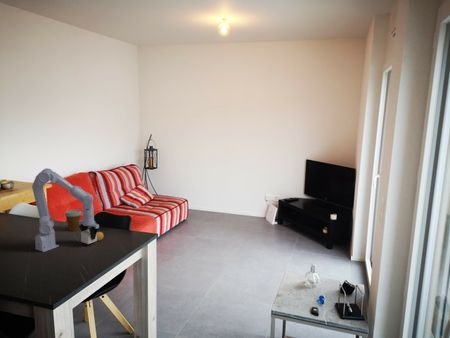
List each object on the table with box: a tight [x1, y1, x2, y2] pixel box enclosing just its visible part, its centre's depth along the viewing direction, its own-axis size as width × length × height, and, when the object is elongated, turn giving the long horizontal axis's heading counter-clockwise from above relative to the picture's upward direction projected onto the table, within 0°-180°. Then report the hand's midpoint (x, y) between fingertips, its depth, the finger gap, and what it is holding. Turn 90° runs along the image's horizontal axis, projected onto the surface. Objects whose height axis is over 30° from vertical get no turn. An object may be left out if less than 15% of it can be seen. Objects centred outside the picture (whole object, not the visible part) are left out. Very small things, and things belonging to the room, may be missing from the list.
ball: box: [97, 231, 104, 241], centre depth 205 cm, size 5×5×5 cm
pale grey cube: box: [80, 228, 98, 245], centre depth 199 cm, size 6×6×6 cm
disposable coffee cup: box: [64, 209, 82, 232], centre depth 220 cm, size 10×10×12 cm
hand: (89, 237), depth 199 cm, fingers closed on pale grey cube, 6 cm apart
